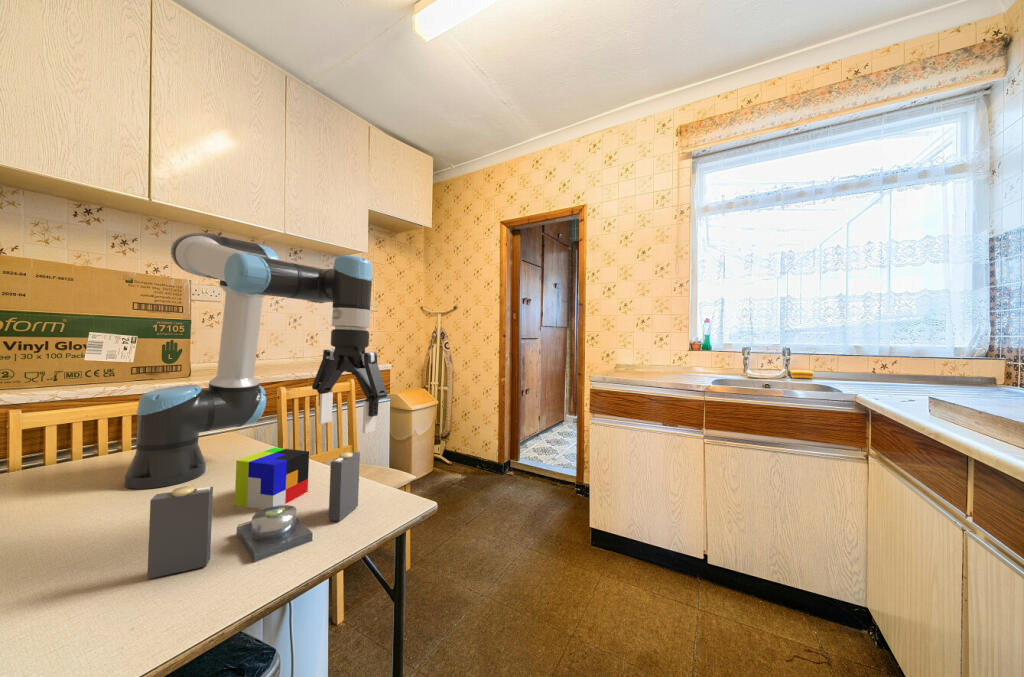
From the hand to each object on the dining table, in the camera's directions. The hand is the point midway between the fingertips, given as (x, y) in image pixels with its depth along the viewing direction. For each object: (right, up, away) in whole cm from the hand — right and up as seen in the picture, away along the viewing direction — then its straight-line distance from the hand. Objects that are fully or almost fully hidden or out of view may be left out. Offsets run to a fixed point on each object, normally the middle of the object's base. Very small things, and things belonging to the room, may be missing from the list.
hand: (346, 426), depth 77 cm
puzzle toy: (-20, -19, +6) cm, 28 cm away
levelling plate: (-9, -18, -10) cm, 23 cm away
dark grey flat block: (-17, -18, -20) cm, 32 cm away
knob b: (0, -19, 0) cm, 19 cm away
